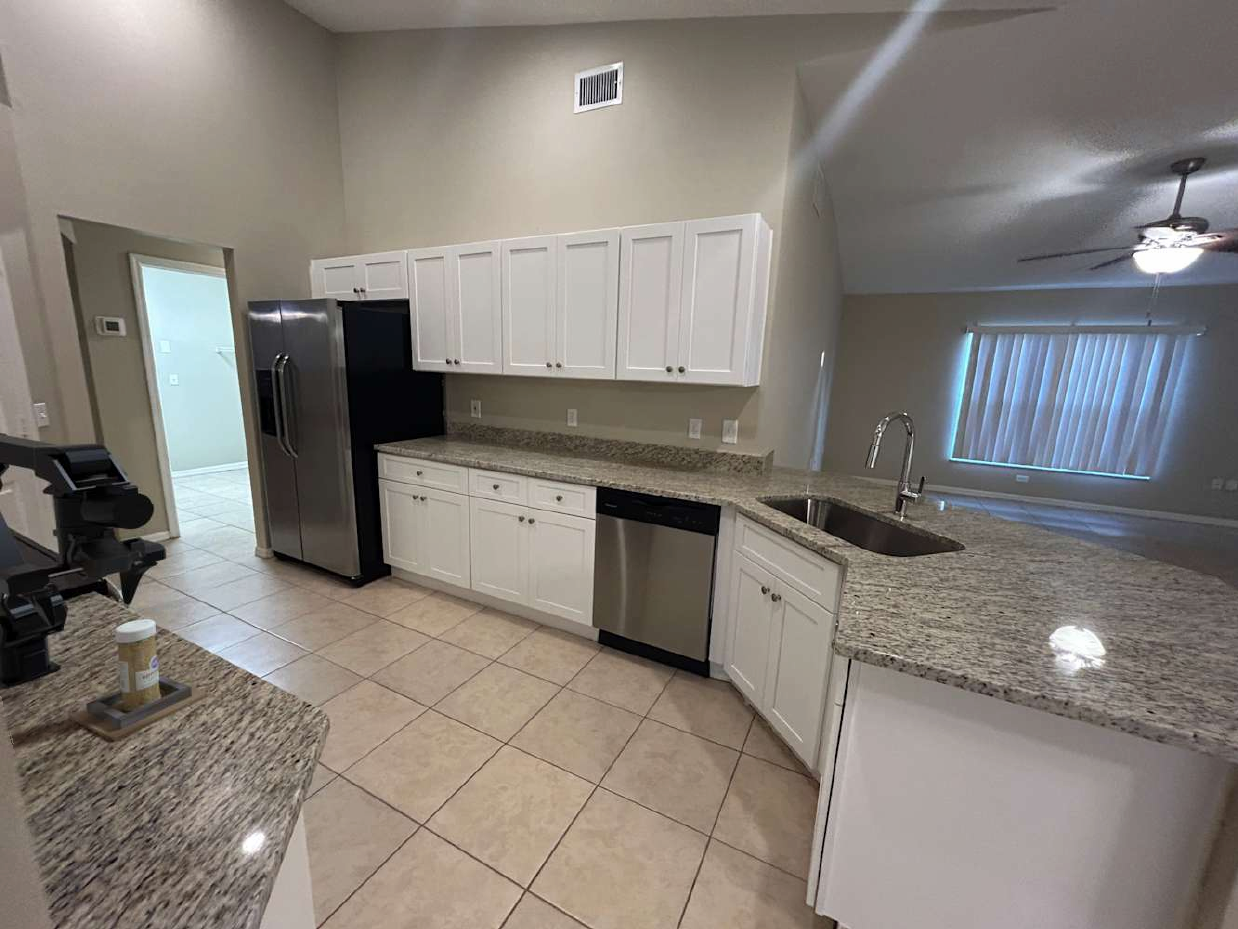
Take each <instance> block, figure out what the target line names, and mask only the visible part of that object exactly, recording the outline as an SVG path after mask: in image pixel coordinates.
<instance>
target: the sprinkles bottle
mask: <svg viewBox="0 0 1238 929" xmlns="http://www.w3.org/2000/svg"><path fill="white" fill-rule="evenodd" d="M156 632H157V626H156V621H155V620H154V619H149V618H147V619H145V618H144V619H137V620H132V621H129V622H125V623H122V624H121V625H119V626H117V627H116V628H115V630H114V638H115V642H116V645H117V652H118V654H117V655H118V659H117V662H118V669H119V681H120V683H119V684H120V689H121V691H122V696H123V705H122V708H123V710H125V711H134V710H136V709H138V708H140V707H143V706H145V705H147V704H149V703H151V702H154V701H156V700H158V699H160V698H161V695H160V693H159V675H160V674H159V663H158V662H159V661H158V655H157V645H156Z"/></svg>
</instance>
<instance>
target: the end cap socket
mask: <svg viewBox="0 0 1238 929" xmlns="http://www.w3.org/2000/svg"><path fill="white" fill-rule="evenodd" d="M159 693H160V695H161V698H160V699H158V700H156V701H154V702H151V703H149V704H147V705H145V706H143V707H140V708H138V709H136V710H134V711H125V710H123V708H122V705H123V696H122V691H121V688H120V689H118V690H116V691H114V692H111V693H108V694H107V695H104V696H101V697H99V698H96V699H94V700H92V701H89V702H87V703H86V707H85V708H84V709H81V710H78V711H76V712H73V713H71V714H69V715H68V719H69V720H71V721H73V722H75V723H77V724H79V725H81V726H82V727H85V728H87V729H89V730H90V731H92V730H93V731H92V732H94V731H95V733H96V732H97V733H96V734H99V735H101V736H102V737H104V738H106V739H109V740H111V742H114V743H115V742H117V741H119V740H121V739H123V738H126V737H127V736H129V735H131V734H133V733H135V732H137V731H139V730H141V729H144V728H145V727H148V726H150V725H152V724H154V723H156V722H158V721H160V720H162V719H164V718H166V717H168V716H171V715H173V714H174V713H177V712H179V711H180V710H183V709H185V708H186V707H189V706H191V705H193V704H195V703H197V702H199V701H201V700H204V699H206V698H208V697H209V694H208V692H206V691H203V690H201V689H198V688H195V687H193V686H191V685H188V684H185V683H183V682H181V681H179V680H176V679H173V678H171V677H169V676H166V675H161V674H159Z"/></svg>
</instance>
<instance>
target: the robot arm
mask: <svg viewBox="0 0 1238 929" xmlns="http://www.w3.org/2000/svg"><path fill="white" fill-rule="evenodd" d="M10 466H12V467H13V466H14V467H19V468H24V469H29V470H31V471H34V476H35V477H37V478H39V479H41V480H44V481H46V482H47V483H48V482H49V483H50V484H48V485H47V486H46V487H45V488H44V489H43V490H42V493H43V494H44V495H49V496H52V500H53V502H52V503H53V510H54V518H55V520H54V522H55V529H52V535H53V536H52V537H56V539H57V550H58V553H56V554H55V555H54V556H55V561H56V562H59V564H53V565H49V566H48V565H47V566H45V567H41V566H38V565H36V564H32V563H27V562H26V560H25V558H24V556H23V554H22V552H21V550H20V548H19V546H18V544H17V542H16V540H15V538H14V536H13V534H12V532H11V530H10V528H9V525H8V524H7V521H6V520H5V518H4V517H5V516H4V515H3V514H2V512H1V510H0V686H3V687H4V688H12V687H13V686H17V685H19V684H22V683H25V682H27V681H30V680H34V679H36V678H39V677H42V676H45V675H48V674H51V673H53V672H57V671H59V670H62V665H61V664H58V663H56V662H54V661H52V660H51V654H50V647H49V636H52V635H54V634H56V633H62V632H63V631H64V630H65V624H66V620H67V616H68V611H69V607H68V605H67V602H66V600H65V599H64V598H63V597H62V595H61V594H60V590H59V587H58V586H57V585H56V584H54V583H53V582H51V583H50V580H51V579H55V578H59V577H64V576H68V575H72V574H76V573H77V574H78V573H82V572H85V573H87V574H88V577H90V578H92V579H101V578H106V577H107V576H111V575H114V574H118V573H119V581H120V588H121V589H120V591H121V596H122V597H121V598H122V601H123V603H124V605H128V606H129V605H131V604H132V602H133V599H134V597H135V594H136V591H137V590H138V589H137V588H138V586H139V584H140V581H141V580H142V578H143V576H144V574H145V573H146V572H147V571H148V570H149V569H151V568H153V567H156V566H157V565H158V562H160V561H163V560H164V561H165V560H166V559H167V549H166V547H165V545H163V544H161V543H158V542H155V541H150V540H147V539H143V538H142V537H141V536H139V537H134V538H128V539H123V540H118V538H117V537H116V532H115V530H114V528H115V529H123V530H136V529H140V528H142V527H144V526H145V525H146V524H148V523H149V521H151V519H152V517H153V515H154V514H155V504H154V503H153V502H152V500H151V499H150V498H149V497H148V496H147V495H145V494H143V493H140V492H139V486H137V484H136V485H135V484H134V485H133V484H131V480H130V479H129V478H128V473H127V472H126V471H125V470H124V469H123V468H122V467H121V466H120V465H119V463H118V461H117V460H116V458H115V457H114V455H113V454H112V453H111V452H110V451H109V450H108V447H106V446H105V445H103V444H101V443H73V444H70V443H69V444H54V443H50V442H46V441H45V442H44V441H38V440H32V439H29V438H28V439H27V438H23V437H18V436H11V435H8V434H6V433H1V432H0V493H1V491H2V489H3V486H4V484H3V480H2V478H1V477H2V476H3V475H4V474H5V472H6V471H7V470H8V469H9V468H10Z"/></svg>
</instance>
